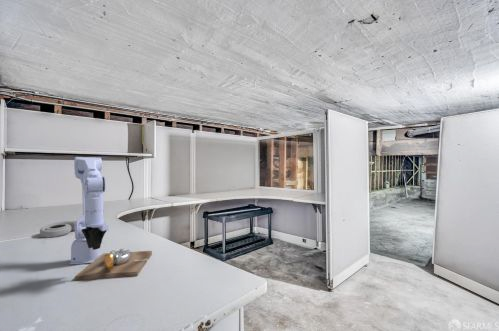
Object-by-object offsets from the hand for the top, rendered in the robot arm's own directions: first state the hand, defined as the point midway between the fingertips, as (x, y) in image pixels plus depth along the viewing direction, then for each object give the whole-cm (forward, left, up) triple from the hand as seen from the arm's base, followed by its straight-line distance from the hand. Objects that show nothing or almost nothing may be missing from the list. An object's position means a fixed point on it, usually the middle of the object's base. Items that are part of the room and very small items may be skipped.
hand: (94, 248), depth 87 cm
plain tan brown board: (+6, +7, -9) cm, 13 cm away
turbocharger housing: (-47, +63, -10) cm, 79 cm away
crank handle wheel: (+6, +4, -8) cm, 10 cm away
